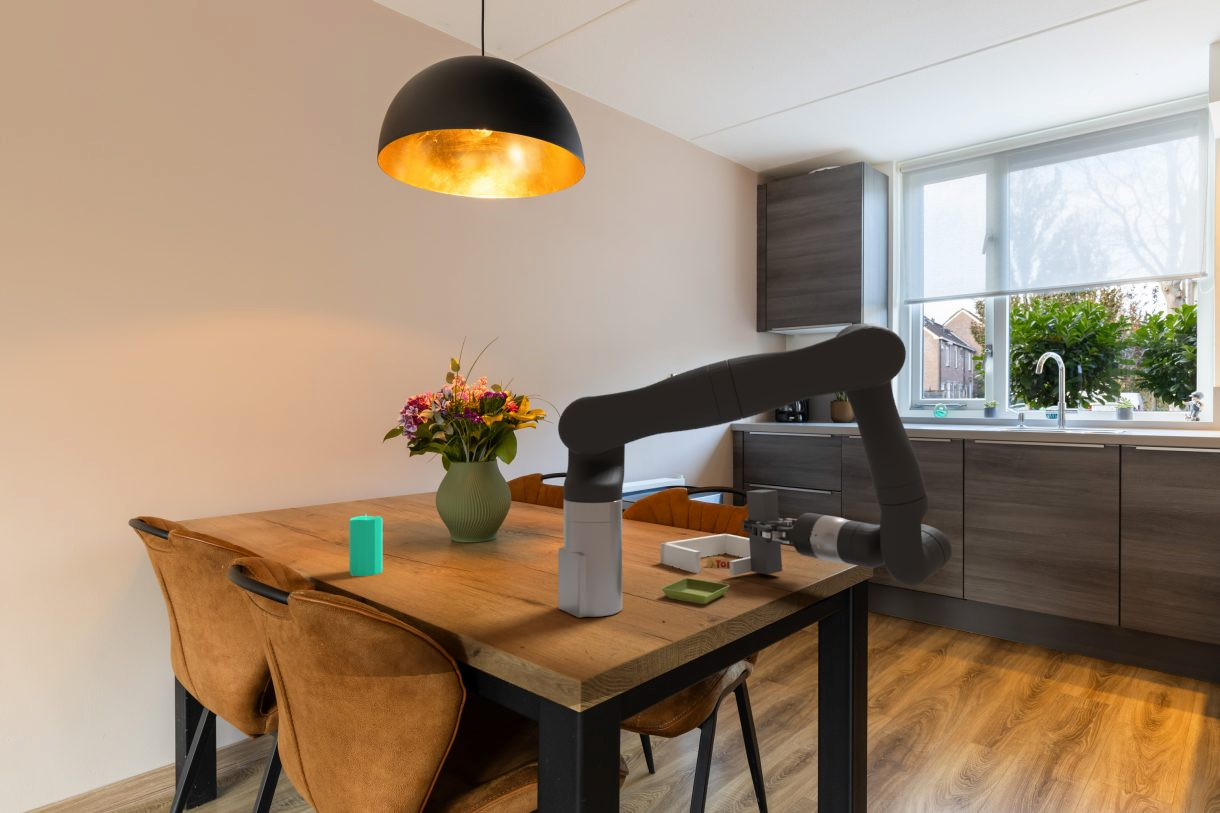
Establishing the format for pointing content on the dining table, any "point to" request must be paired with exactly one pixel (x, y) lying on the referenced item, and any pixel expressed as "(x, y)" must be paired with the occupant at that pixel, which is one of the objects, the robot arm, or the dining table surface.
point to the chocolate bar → (719, 562)
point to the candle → (365, 545)
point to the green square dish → (695, 590)
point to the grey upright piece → (761, 553)
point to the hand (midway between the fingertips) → (752, 523)
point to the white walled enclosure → (702, 550)
